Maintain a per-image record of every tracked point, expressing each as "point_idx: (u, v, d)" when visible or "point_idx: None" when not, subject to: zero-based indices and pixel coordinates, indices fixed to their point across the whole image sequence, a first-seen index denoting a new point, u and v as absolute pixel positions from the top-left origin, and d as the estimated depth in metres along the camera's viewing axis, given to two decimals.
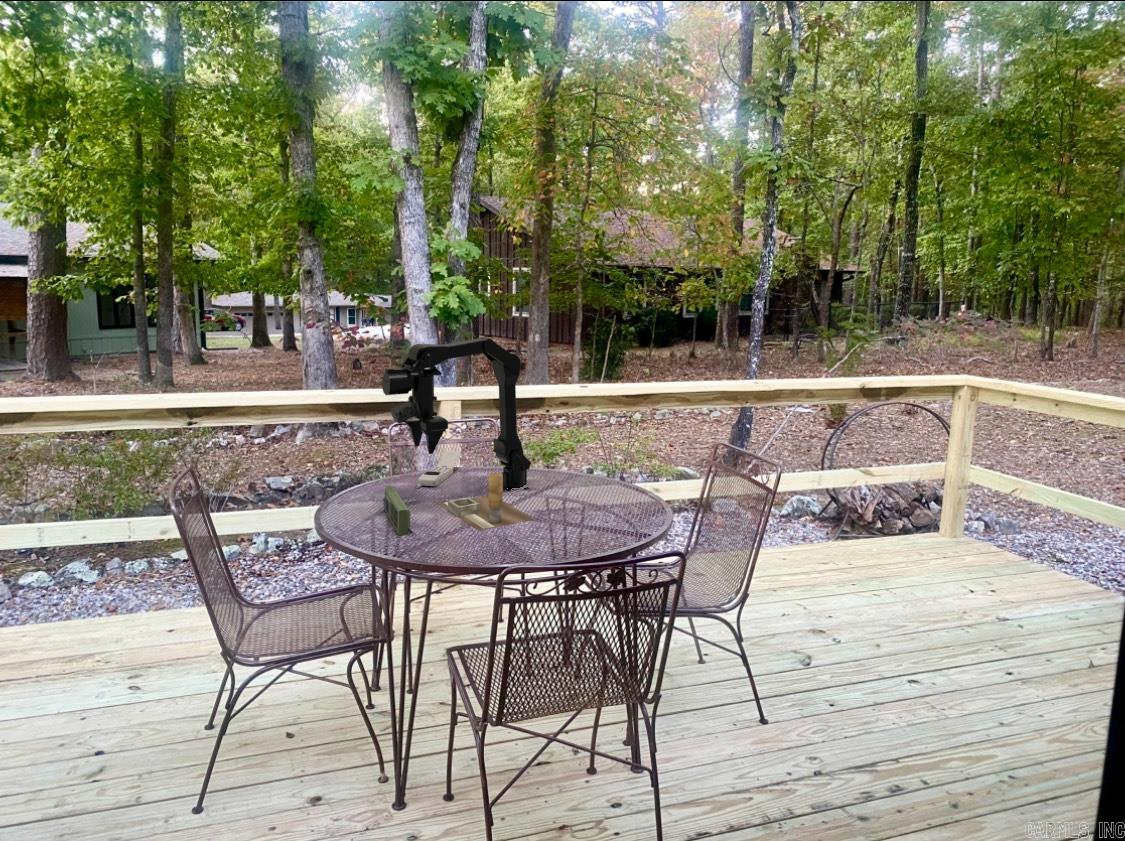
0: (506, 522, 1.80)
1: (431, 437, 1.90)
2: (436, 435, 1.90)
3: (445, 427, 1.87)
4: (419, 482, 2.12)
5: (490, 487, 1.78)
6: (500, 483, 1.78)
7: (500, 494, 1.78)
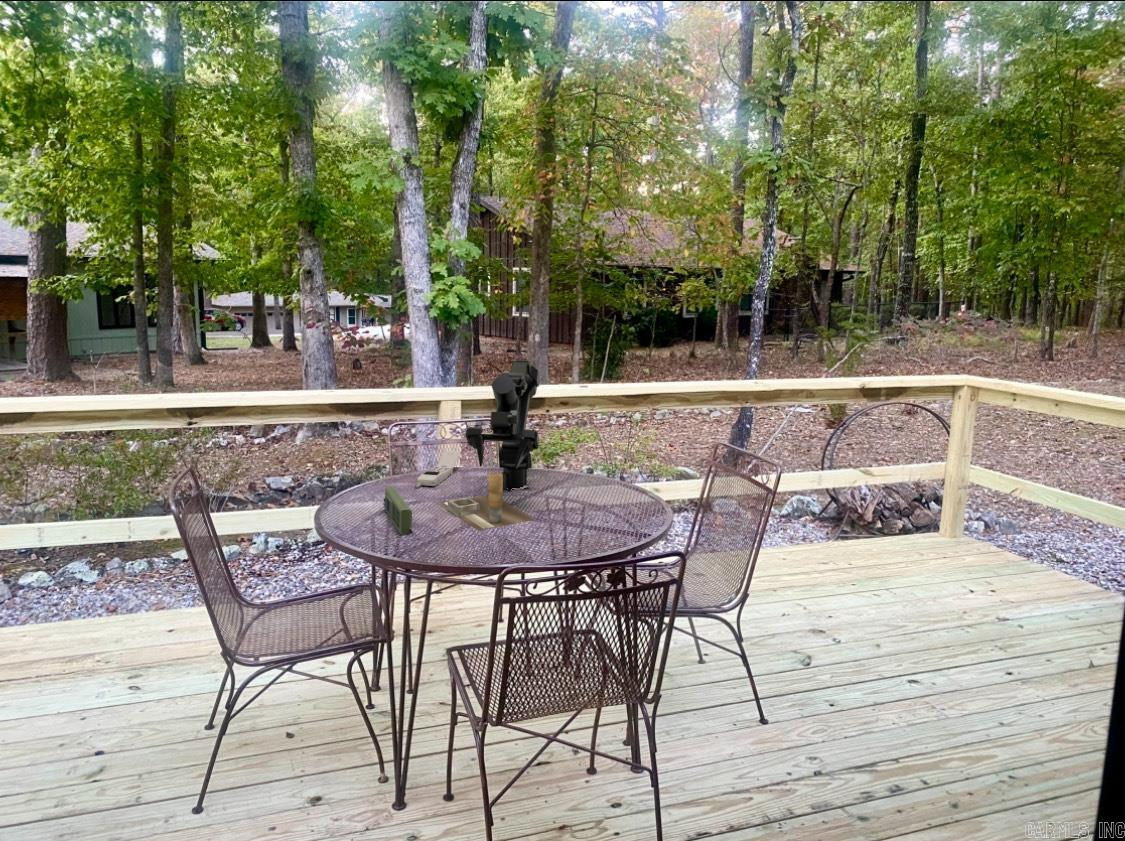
0: (506, 522, 1.80)
1: None
2: (524, 452, 1.89)
3: (538, 446, 1.91)
4: (418, 482, 2.12)
5: (490, 487, 1.78)
6: (500, 483, 1.78)
7: (500, 494, 1.78)
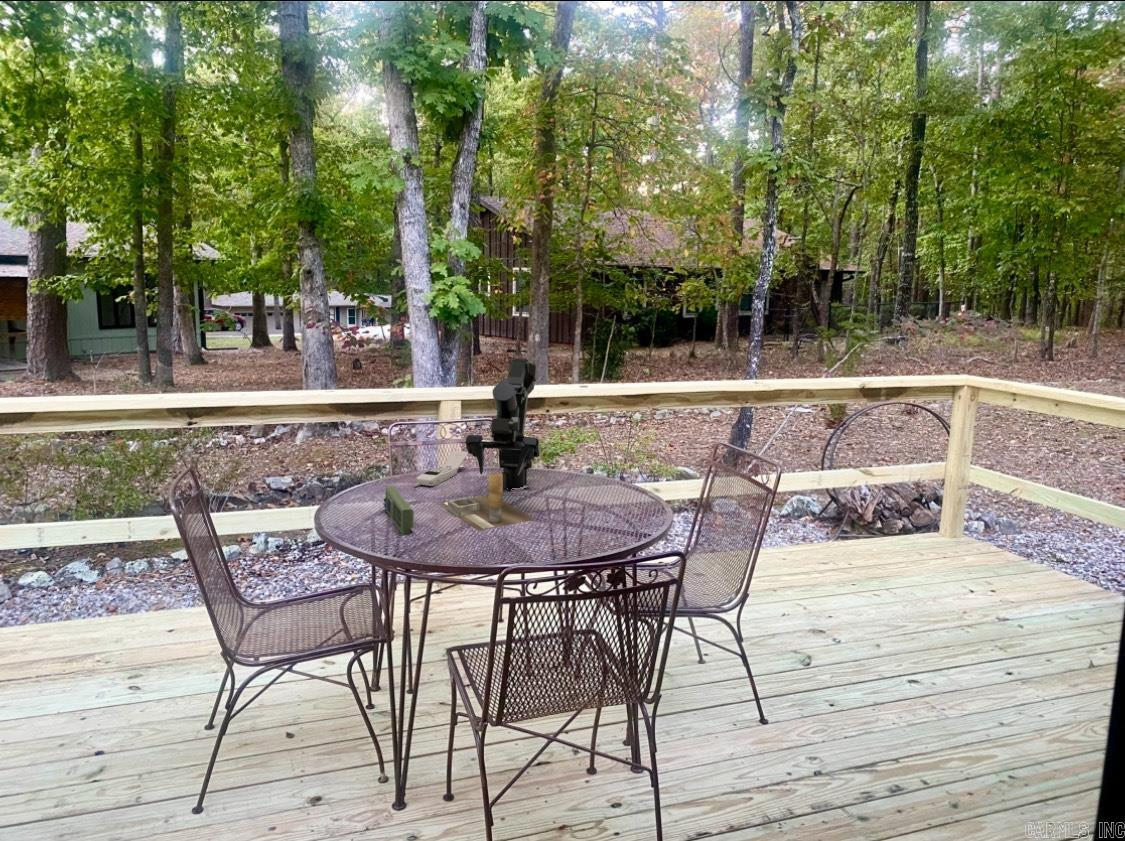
0: (506, 522, 1.80)
1: None
2: (525, 460, 1.87)
3: (539, 453, 1.89)
4: (417, 481, 2.13)
5: (490, 487, 1.78)
6: (500, 483, 1.78)
7: (500, 494, 1.78)
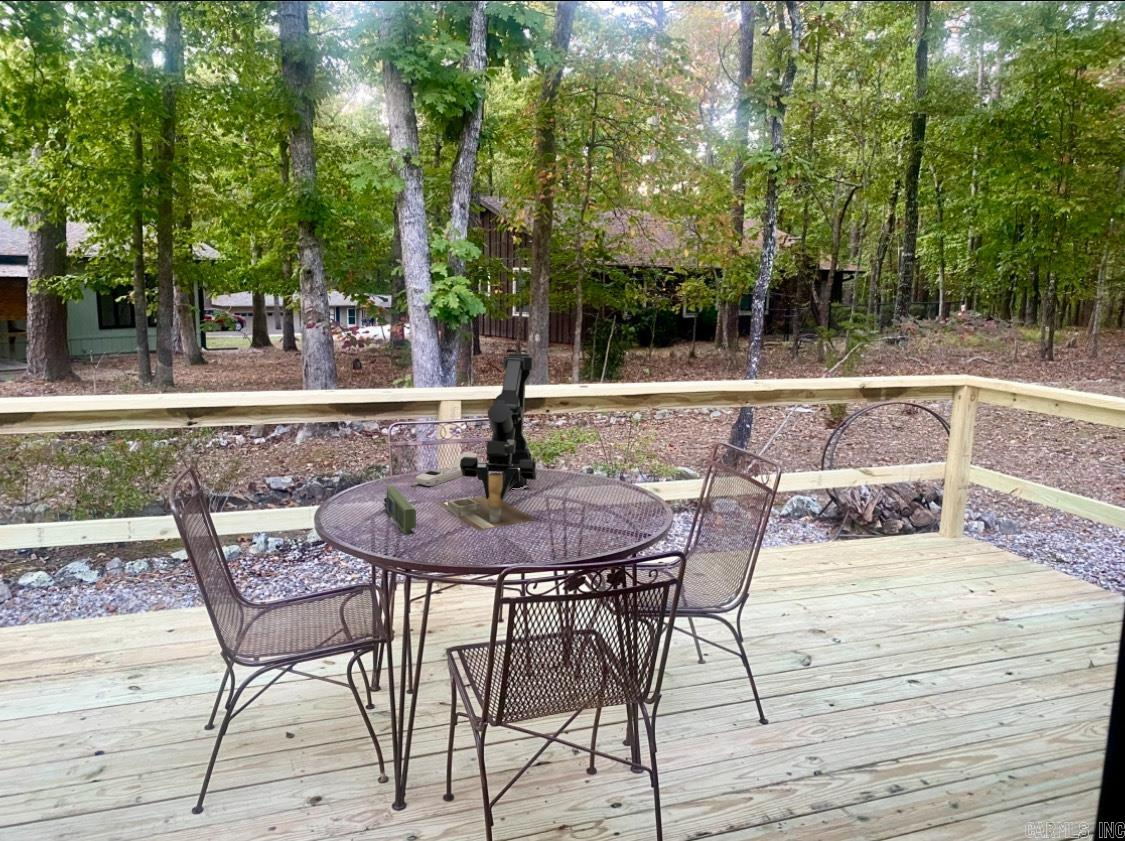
0: (506, 522, 1.80)
1: None
2: (510, 482, 1.82)
3: None
4: (416, 480, 2.14)
5: (490, 487, 1.78)
6: (500, 483, 1.78)
7: (500, 494, 1.78)
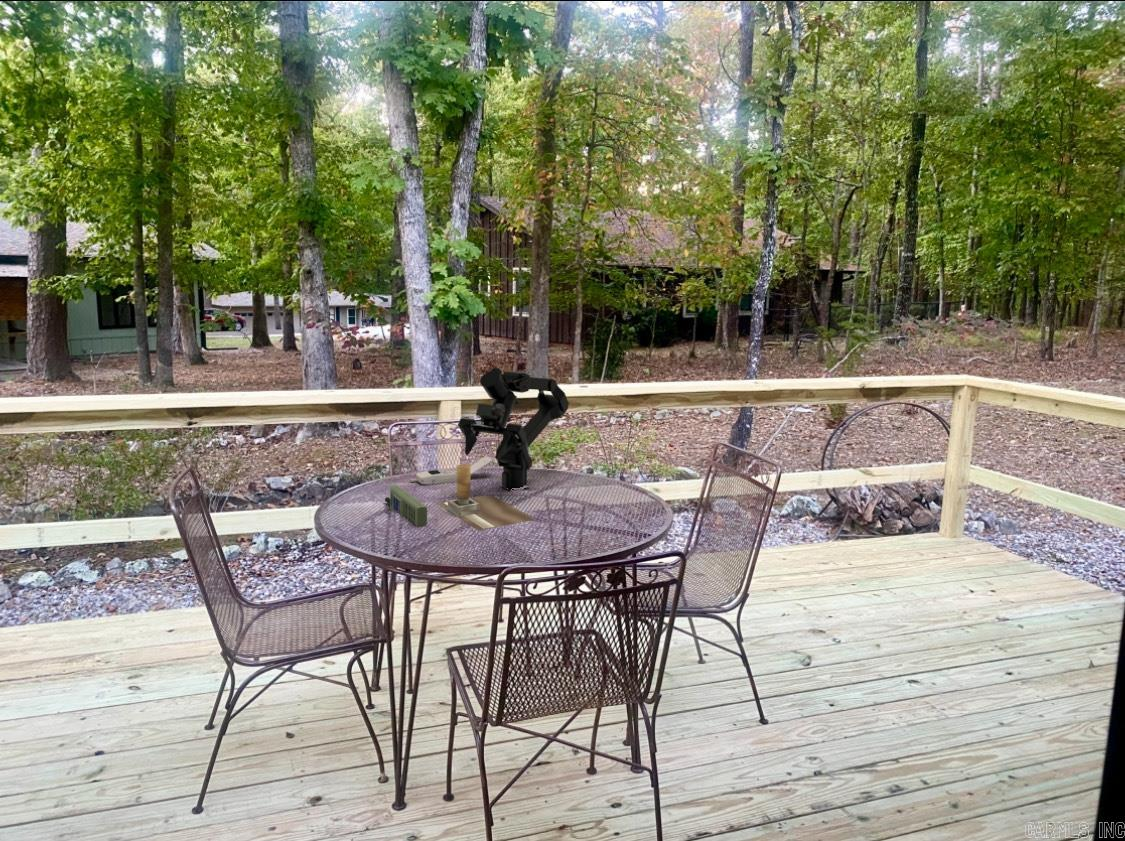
0: (506, 522, 1.80)
1: (506, 444, 1.95)
2: (508, 445, 1.96)
3: (524, 440, 1.96)
4: (416, 477, 2.17)
5: (457, 477, 1.85)
6: (466, 474, 1.84)
7: (466, 485, 1.85)
